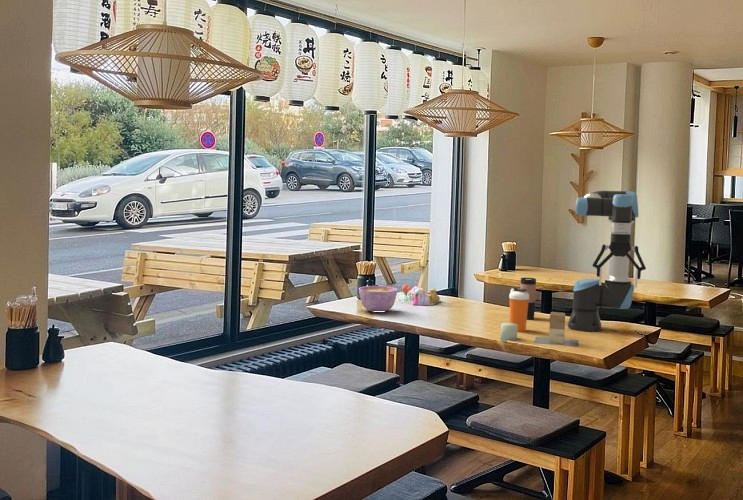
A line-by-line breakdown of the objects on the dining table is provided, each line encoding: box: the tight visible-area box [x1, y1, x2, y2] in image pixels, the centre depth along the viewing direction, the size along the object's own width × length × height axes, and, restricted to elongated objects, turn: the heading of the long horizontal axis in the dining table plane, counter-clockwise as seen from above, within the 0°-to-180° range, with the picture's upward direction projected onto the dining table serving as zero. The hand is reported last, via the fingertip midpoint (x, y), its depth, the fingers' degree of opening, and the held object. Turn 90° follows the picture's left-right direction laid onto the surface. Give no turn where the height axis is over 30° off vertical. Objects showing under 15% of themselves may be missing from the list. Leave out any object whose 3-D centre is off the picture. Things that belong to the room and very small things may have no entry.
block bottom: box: [548, 327, 566, 344], centre depth 325 cm, size 6×6×6 cm
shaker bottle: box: [508, 287, 529, 333], centre depth 347 cm, size 9×9×20 cm
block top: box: [549, 311, 566, 330], centre depth 325 cm, size 6×6×6 cm
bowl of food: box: [358, 285, 399, 311], centre depth 391 cm, size 20×20×12 cm
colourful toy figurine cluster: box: [396, 284, 441, 306], centre depth 421 cm, size 25×24×9 cm
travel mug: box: [519, 277, 537, 321], centre depth 380 cm, size 8×8×20 cm
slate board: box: [533, 336, 579, 348], centre depth 326 cm, size 13×18×1 cm
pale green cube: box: [499, 322, 518, 343], centre depth 330 cm, size 7×7×7 cm
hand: (617, 286), depth 307 cm, fingers open, 13 cm apart
